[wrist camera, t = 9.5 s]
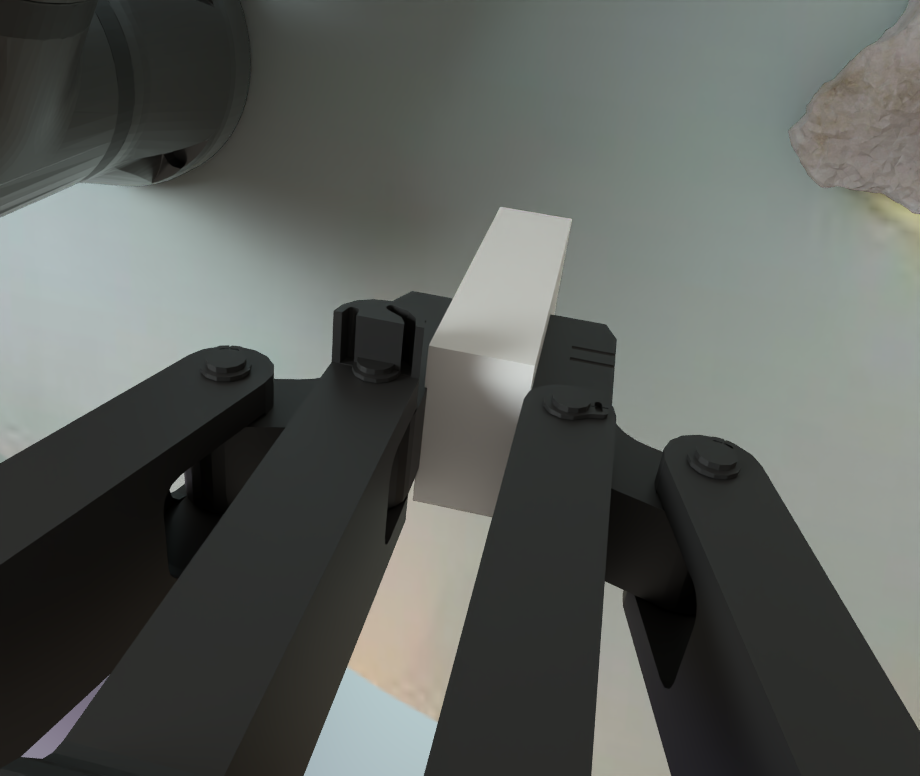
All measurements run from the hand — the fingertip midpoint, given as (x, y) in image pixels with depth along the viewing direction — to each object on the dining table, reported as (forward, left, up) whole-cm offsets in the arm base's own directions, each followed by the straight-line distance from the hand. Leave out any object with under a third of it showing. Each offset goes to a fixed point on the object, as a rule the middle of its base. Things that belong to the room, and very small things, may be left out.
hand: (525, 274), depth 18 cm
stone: (+13, +3, -28) cm, 32 cm away
